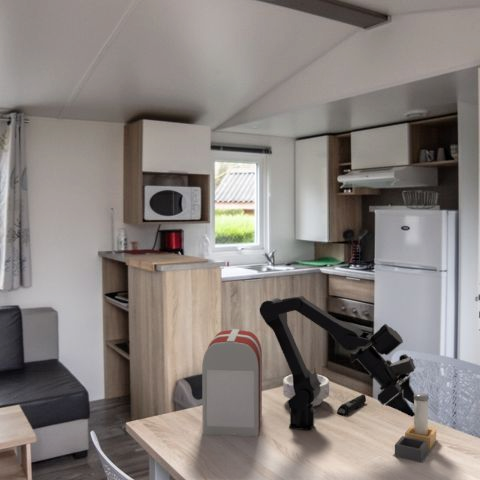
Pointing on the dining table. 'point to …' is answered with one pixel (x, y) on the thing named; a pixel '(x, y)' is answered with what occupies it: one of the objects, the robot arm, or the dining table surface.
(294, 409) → the robot arm
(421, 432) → the plug
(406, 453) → the two-tone square organizer tray
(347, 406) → the electric trimmer
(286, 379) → the paper bowls
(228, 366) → the arched-top grey box
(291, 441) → the dining table surface
